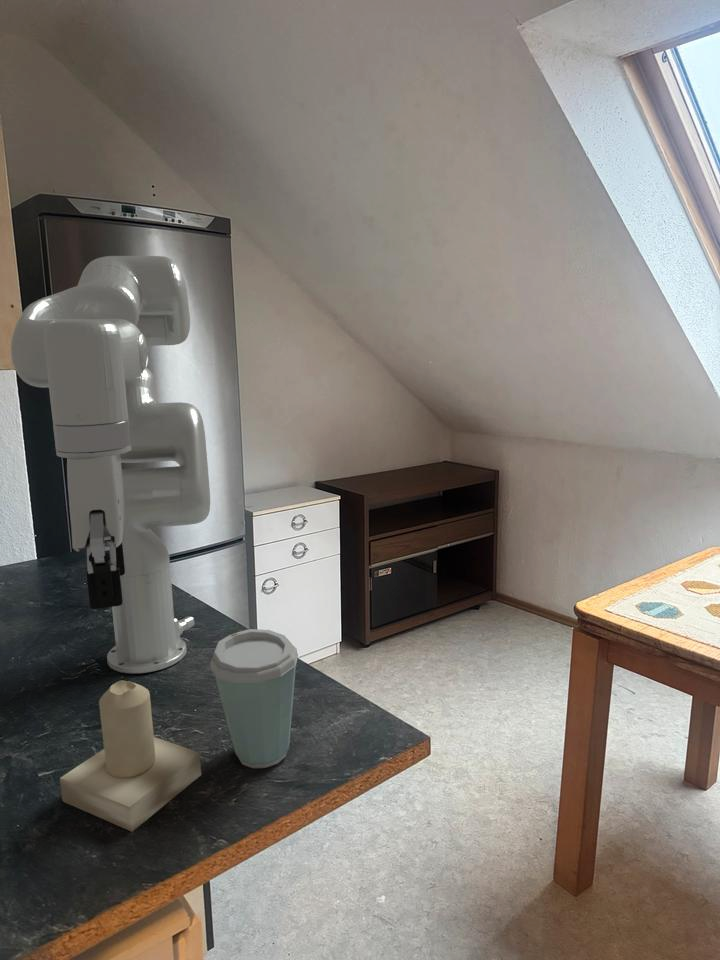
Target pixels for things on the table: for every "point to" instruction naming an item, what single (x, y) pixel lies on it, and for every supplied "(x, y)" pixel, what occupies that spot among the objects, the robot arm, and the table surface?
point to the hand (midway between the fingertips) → (109, 590)
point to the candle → (127, 729)
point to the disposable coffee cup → (257, 693)
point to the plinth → (131, 785)
